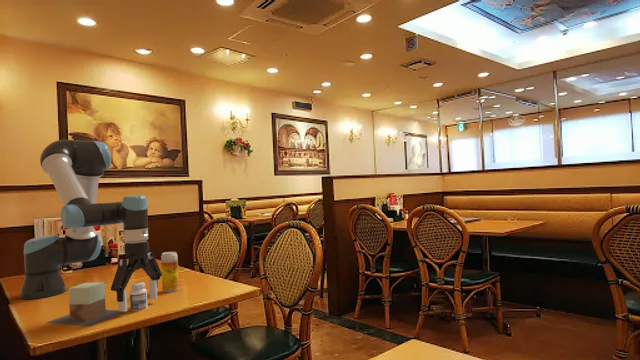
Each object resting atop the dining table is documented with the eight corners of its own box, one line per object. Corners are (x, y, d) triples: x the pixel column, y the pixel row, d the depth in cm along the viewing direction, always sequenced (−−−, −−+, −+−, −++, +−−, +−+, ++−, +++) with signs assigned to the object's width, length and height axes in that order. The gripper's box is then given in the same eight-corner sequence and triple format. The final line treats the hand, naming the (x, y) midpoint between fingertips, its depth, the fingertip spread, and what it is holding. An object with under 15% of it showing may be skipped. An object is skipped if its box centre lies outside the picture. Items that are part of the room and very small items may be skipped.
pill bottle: (134, 308, 133) (133, 282, 133) (150, 306, 134) (148, 281, 134) (127, 313, 128) (126, 286, 128) (144, 311, 128) (143, 284, 128)
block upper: (69, 304, 122) (68, 288, 122) (85, 297, 129) (85, 282, 129) (89, 304, 121) (88, 288, 121) (105, 297, 128) (104, 282, 128)
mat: (46, 323, 121) (46, 322, 121) (86, 309, 134) (86, 308, 134) (90, 327, 115) (90, 326, 115) (127, 312, 128) (127, 311, 128)
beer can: (173, 292, 151) (171, 254, 151) (159, 292, 152) (157, 254, 152) (181, 288, 157) (180, 251, 157) (168, 288, 158) (166, 251, 158)
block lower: (69, 319, 122) (69, 303, 122) (89, 312, 129) (88, 297, 129) (86, 321, 120) (86, 304, 120) (105, 313, 127) (105, 298, 127)
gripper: (115, 247, 118) (117, 317, 118) (170, 236, 142) (173, 294, 141) (96, 247, 120) (98, 316, 120) (154, 236, 144) (156, 293, 144)
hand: (139, 304), depth 131 cm, fingers open, 13 cm apart
